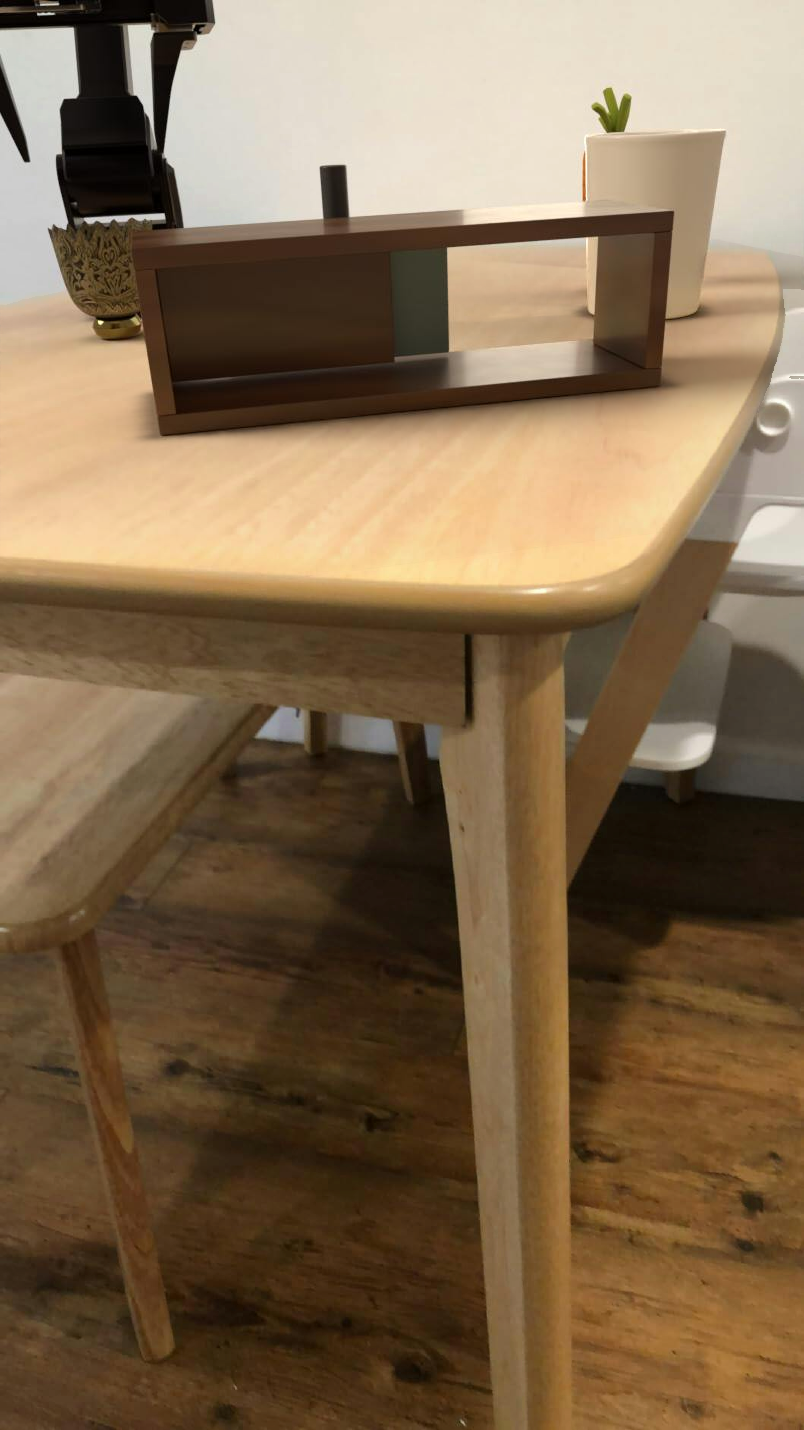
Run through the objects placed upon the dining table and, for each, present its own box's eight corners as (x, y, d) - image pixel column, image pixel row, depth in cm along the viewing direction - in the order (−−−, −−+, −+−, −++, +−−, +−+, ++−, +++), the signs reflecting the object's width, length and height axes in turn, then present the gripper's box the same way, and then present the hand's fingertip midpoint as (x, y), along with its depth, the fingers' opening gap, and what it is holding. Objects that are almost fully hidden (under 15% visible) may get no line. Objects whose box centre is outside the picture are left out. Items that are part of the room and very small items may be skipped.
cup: (64, 334, 82) (43, 222, 78) (158, 324, 84) (141, 214, 80) (76, 349, 76) (52, 229, 72) (176, 338, 78) (159, 221, 74)
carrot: (635, 292, 88) (649, 84, 81) (576, 292, 89) (583, 88, 82) (636, 283, 92) (649, 85, 85) (579, 284, 93) (587, 88, 86)
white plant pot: (556, 307, 83) (561, 135, 77) (665, 296, 85) (679, 128, 79) (615, 327, 75) (626, 136, 69) (734, 314, 77) (755, 128, 71)
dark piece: (223, 354, 66) (201, 172, 61) (428, 336, 68) (423, 159, 63) (230, 372, 62) (206, 176, 56) (449, 352, 64) (445, 162, 59)
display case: (157, 395, 62) (130, 230, 58) (597, 354, 67) (605, 199, 63) (160, 435, 54) (130, 247, 50) (660, 386, 59) (674, 210, 55)
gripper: (-136, -156, 58) (-61, 163, 65) (203, -158, 61) (239, 144, 68) (-101, -105, 67) (-39, 168, 74) (190, -110, 71) (223, 151, 78)
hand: (94, 157), depth 74 cm, fingers open, 9 cm apart
